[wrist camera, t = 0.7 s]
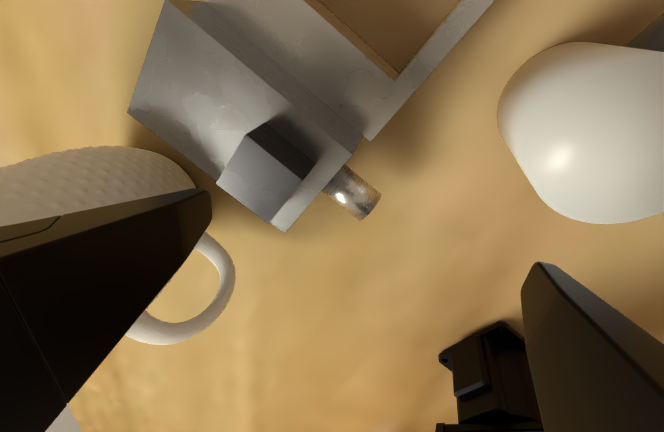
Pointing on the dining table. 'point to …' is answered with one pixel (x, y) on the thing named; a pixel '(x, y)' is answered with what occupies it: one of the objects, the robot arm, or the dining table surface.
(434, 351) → the dining table surface
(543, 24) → the dining table surface
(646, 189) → the light bulb
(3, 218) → the mug
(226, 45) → the u-shaped channel
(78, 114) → the dining table surface
